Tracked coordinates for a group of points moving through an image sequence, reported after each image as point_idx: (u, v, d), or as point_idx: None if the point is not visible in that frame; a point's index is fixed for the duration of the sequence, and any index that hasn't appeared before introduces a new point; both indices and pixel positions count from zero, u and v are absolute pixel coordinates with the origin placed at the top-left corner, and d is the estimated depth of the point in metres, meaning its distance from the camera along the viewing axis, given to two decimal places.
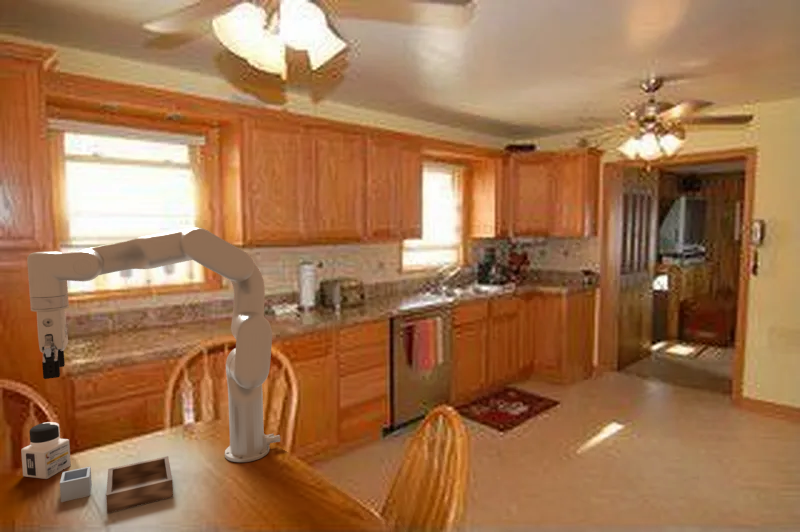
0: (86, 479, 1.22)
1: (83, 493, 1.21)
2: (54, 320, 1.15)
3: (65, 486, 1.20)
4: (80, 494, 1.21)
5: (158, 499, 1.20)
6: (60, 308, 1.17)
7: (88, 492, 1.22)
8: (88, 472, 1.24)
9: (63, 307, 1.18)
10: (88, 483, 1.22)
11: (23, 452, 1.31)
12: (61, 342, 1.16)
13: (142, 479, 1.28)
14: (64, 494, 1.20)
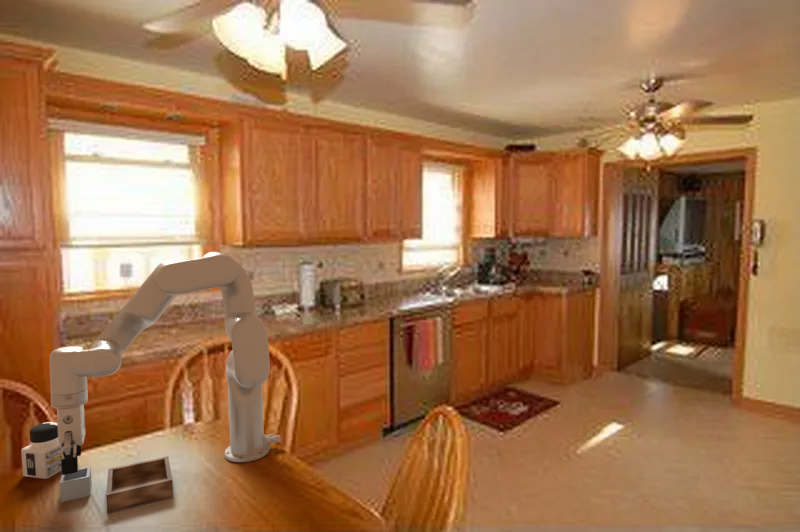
0: (86, 479, 1.22)
1: (83, 493, 1.21)
2: (74, 417, 1.18)
3: (65, 486, 1.20)
4: (80, 494, 1.21)
5: (158, 499, 1.20)
6: (80, 404, 1.20)
7: (88, 492, 1.22)
8: (88, 472, 1.24)
9: (83, 402, 1.21)
10: (88, 483, 1.22)
11: (23, 452, 1.31)
12: (80, 438, 1.19)
13: (142, 479, 1.28)
14: (64, 494, 1.20)
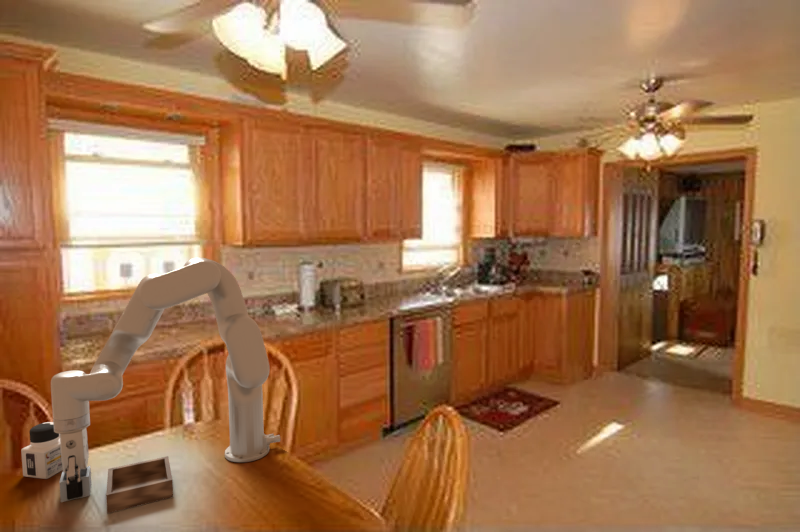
0: (86, 479, 1.22)
1: (83, 493, 1.21)
2: (77, 441, 1.18)
3: (65, 486, 1.19)
4: None
5: (158, 499, 1.20)
6: (82, 428, 1.20)
7: (88, 492, 1.22)
8: (88, 472, 1.24)
9: (85, 426, 1.21)
10: (88, 483, 1.22)
11: (23, 452, 1.31)
12: (83, 462, 1.19)
13: (142, 479, 1.28)
14: (64, 494, 1.20)
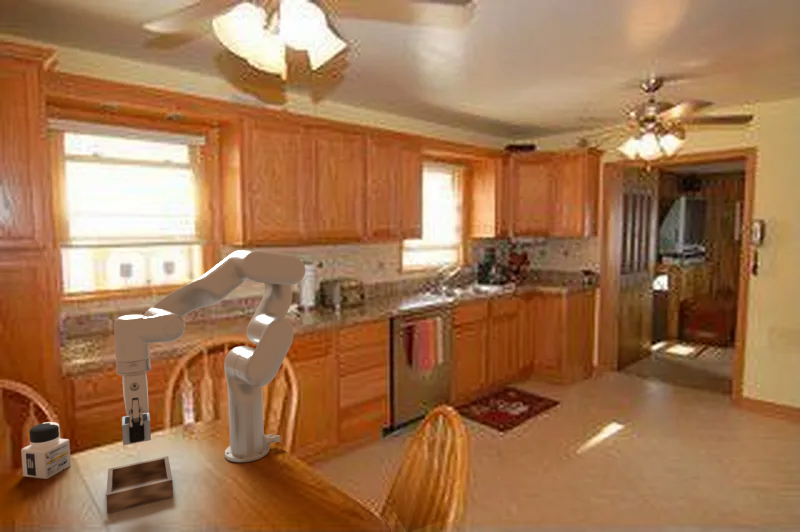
0: (147, 423, 1.21)
1: None
2: (140, 384, 1.18)
3: (127, 429, 1.19)
4: None
5: (158, 499, 1.20)
6: (144, 371, 1.20)
7: (149, 436, 1.21)
8: (148, 417, 1.23)
9: (147, 370, 1.21)
10: (149, 427, 1.21)
11: (23, 452, 1.31)
12: (146, 405, 1.19)
13: (142, 479, 1.28)
14: (126, 437, 1.19)
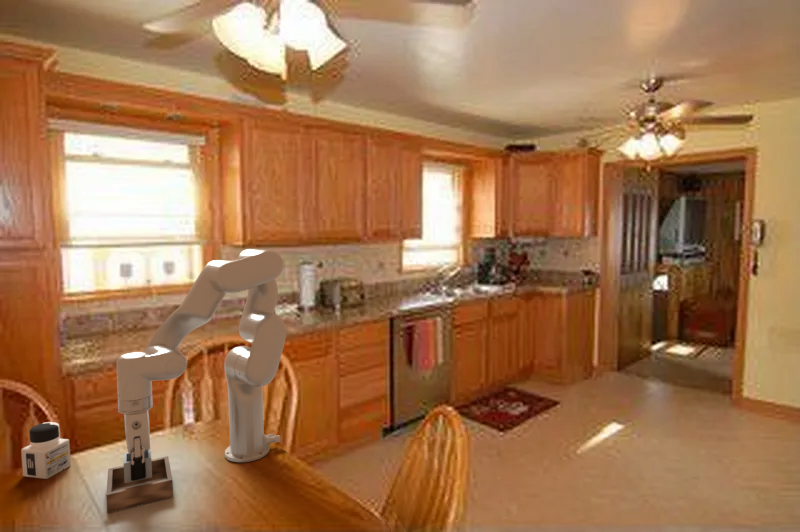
0: (148, 460, 1.22)
1: None
2: (142, 422, 1.19)
3: (129, 467, 1.20)
4: None
5: (158, 499, 1.20)
6: (146, 409, 1.21)
7: (150, 473, 1.22)
8: (149, 453, 1.24)
9: (149, 407, 1.21)
10: (150, 464, 1.22)
11: (23, 452, 1.31)
12: (148, 443, 1.19)
13: (142, 479, 1.28)
14: (127, 475, 1.20)
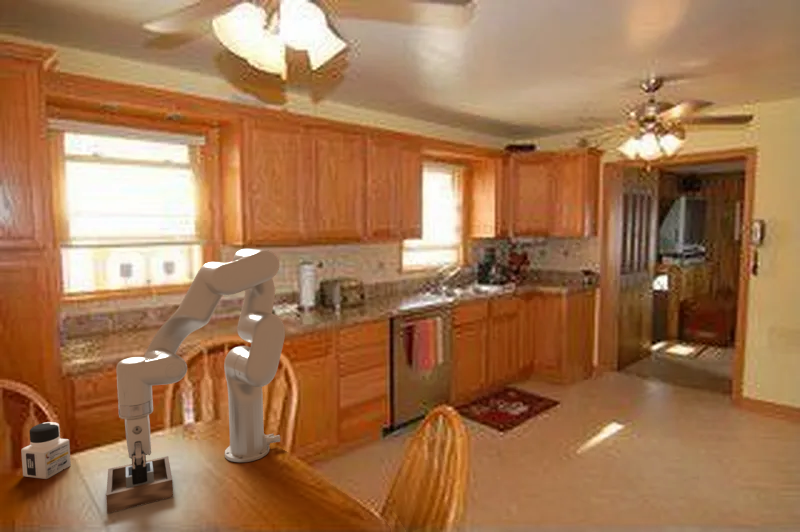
0: (150, 473, 1.22)
1: None
2: (142, 427, 1.19)
3: (131, 481, 1.20)
4: None
5: (158, 499, 1.20)
6: (147, 414, 1.21)
7: None
8: (151, 467, 1.25)
9: (149, 412, 1.22)
10: (152, 477, 1.22)
11: (23, 452, 1.31)
12: (149, 448, 1.20)
13: None
14: None
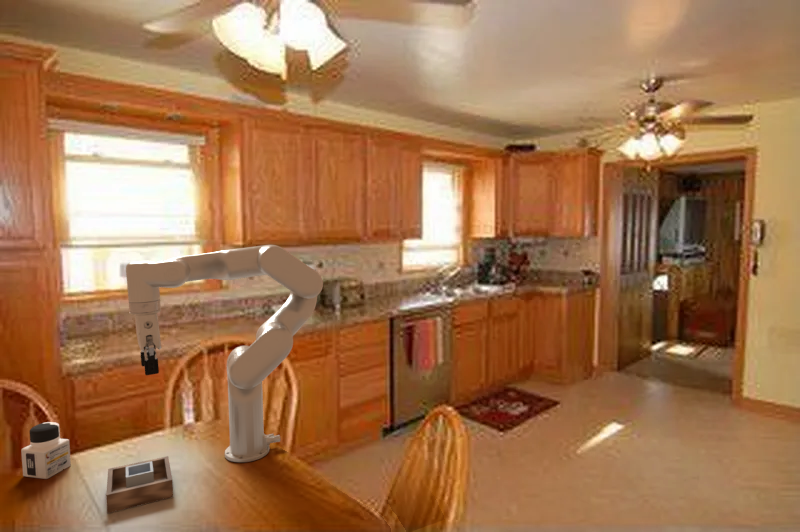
0: (150, 473, 1.22)
1: None
2: (153, 322, 1.28)
3: (131, 481, 1.20)
4: None
5: (158, 499, 1.20)
6: (156, 311, 1.30)
7: None
8: (151, 467, 1.25)
9: (158, 310, 1.31)
10: (152, 477, 1.22)
11: (23, 452, 1.31)
12: (159, 342, 1.29)
13: None
14: None
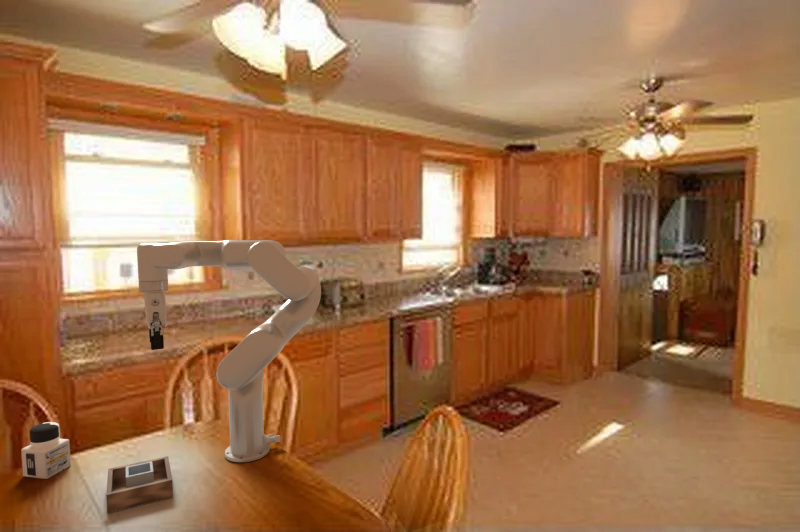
0: (150, 473, 1.22)
1: None
2: (160, 300, 1.37)
3: (131, 481, 1.20)
4: None
5: (158, 499, 1.20)
6: (163, 290, 1.39)
7: None
8: (151, 467, 1.25)
9: (165, 290, 1.39)
10: (152, 477, 1.22)
11: (23, 452, 1.31)
12: (165, 319, 1.38)
13: None
14: None
